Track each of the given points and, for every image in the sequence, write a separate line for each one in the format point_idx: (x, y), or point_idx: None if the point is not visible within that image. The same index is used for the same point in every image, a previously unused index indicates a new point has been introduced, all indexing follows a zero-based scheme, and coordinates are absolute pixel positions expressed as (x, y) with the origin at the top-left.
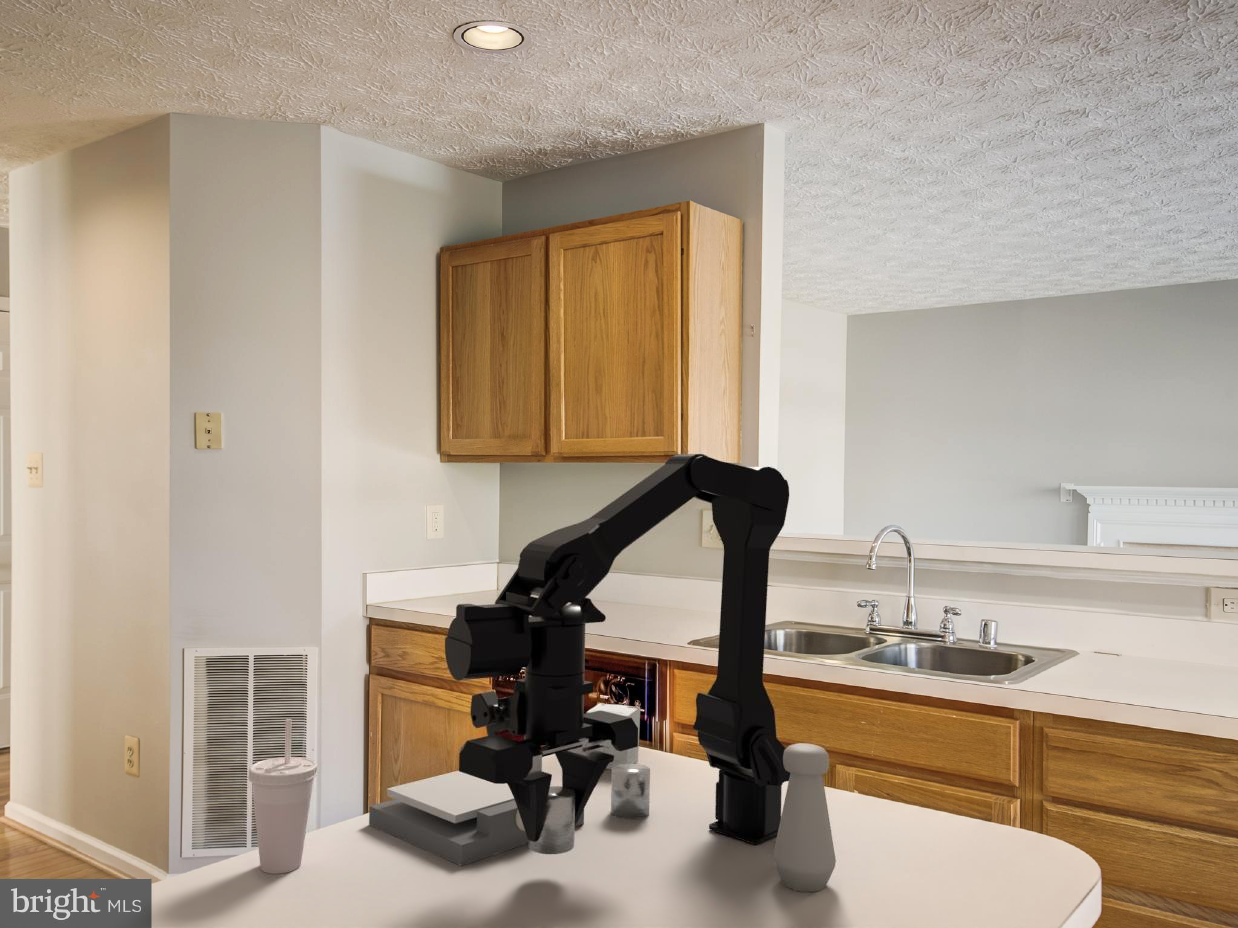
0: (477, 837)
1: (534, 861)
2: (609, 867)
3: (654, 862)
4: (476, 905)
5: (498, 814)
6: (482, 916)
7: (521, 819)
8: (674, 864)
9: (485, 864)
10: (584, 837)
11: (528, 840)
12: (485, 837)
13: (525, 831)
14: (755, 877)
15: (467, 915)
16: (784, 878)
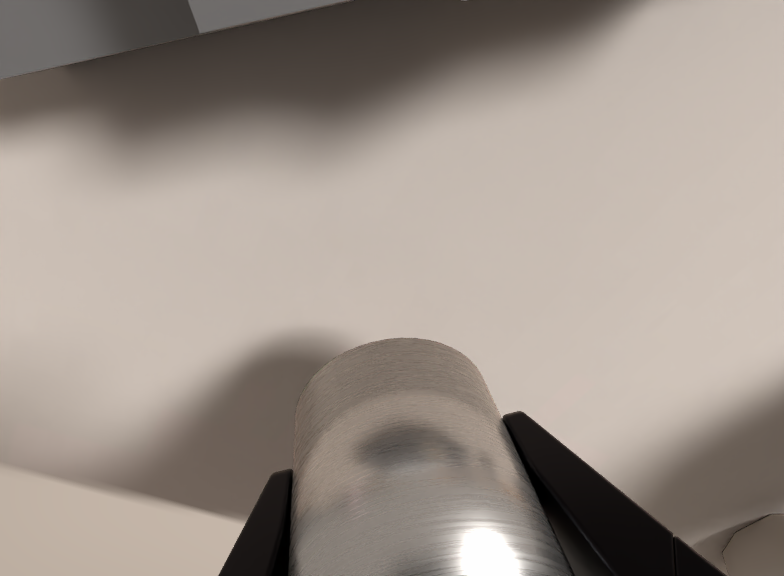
0: (140, 2)
1: (403, 199)
2: (568, 352)
3: (683, 373)
4: (61, 418)
5: (296, 10)
6: (66, 473)
7: (222, 568)
8: (703, 400)
9: (192, 118)
10: (743, 67)
11: (298, 419)
12: (196, 32)
13: (255, 505)
14: (740, 499)
15: (18, 457)
16: (738, 556)
